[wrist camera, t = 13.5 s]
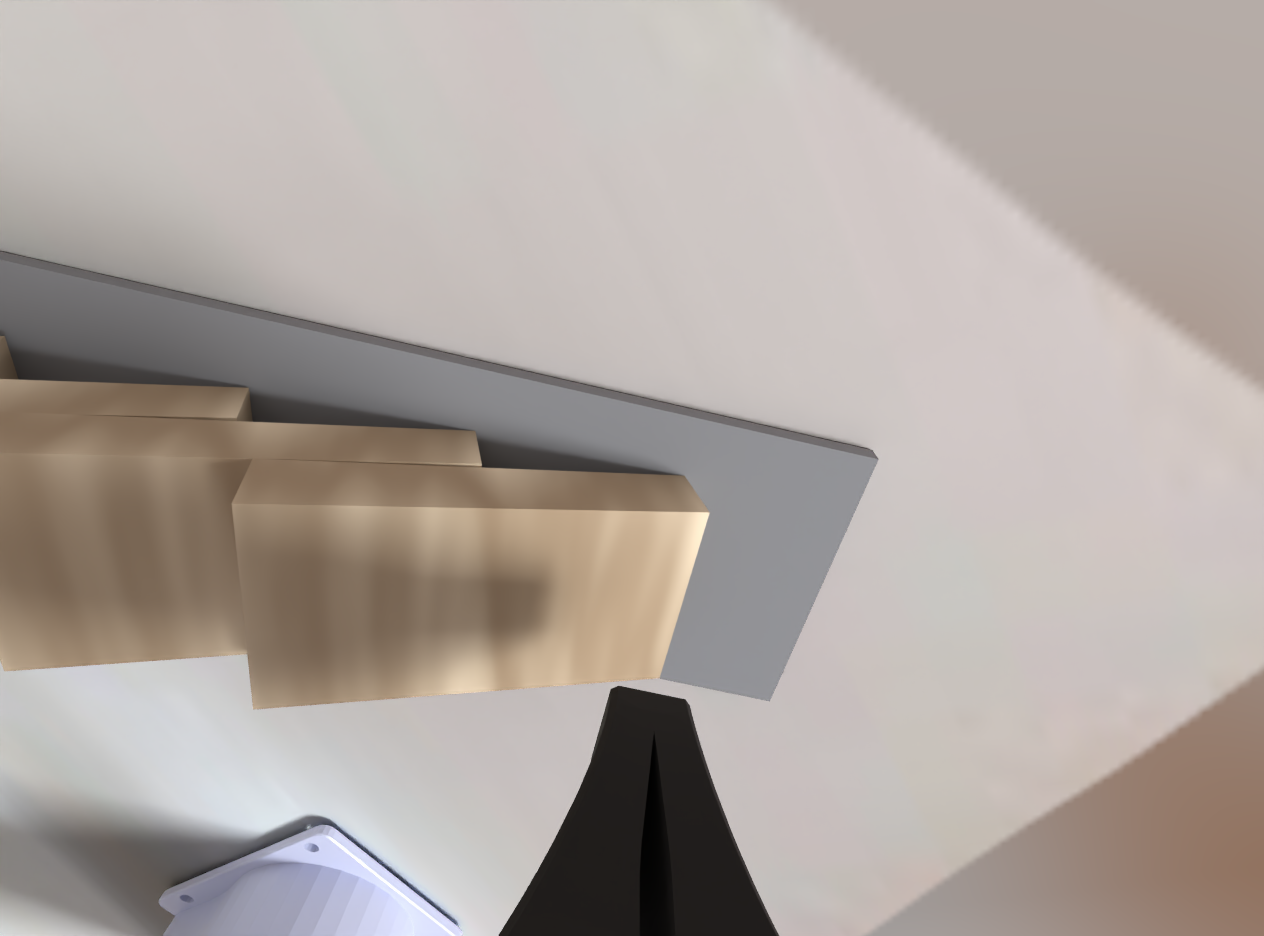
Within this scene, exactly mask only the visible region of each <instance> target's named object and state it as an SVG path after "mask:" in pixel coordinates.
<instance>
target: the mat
mask: <svg viewBox="0 0 1264 936" xmlns="http://www.w3.org/2000/svg"><path fill="white" fill-rule="evenodd" d="M0 336H5V339H6V342H7V345H8V348H9V351H10V354H11V357H12V360H13V363H14V367H15V370H16V373H17V376H18V379H19V380H44V381H72V382H101V383H129V384H157V385H186V386H214V387H242V388H249V393H250V402H251V411H252V420H253V422H269V423H294V424H319V425H344V426H368V427H393V428H418V429H443V430H467V431H475V432H476V437H477V442H478V447H479V452H480V457H481V462H482V467H481V468H505V469H530V470H555V471H580V472H605V473H630V474H655V475H680V476H685V477H686V479H687V480H688V482H689V483H690V484H691V486H692V487H693V489H694V490H695V492H696V493H697V495H698V496H699V498H700V499H701V501H702V502H703V503H704V505H705V506H706V508H707V509H708V511H709V512H710V513H709V517H708V520H707V523H706V526H705V530H704V533H703V536H702V540H701V543H700V546H699V550H698V553H697V556H696V559H695V563H694V566H693V569H692V573H691V576H690V579H689V583H688V586H687V589H686V592H685V596H684V599H683V602H682V606H681V609H680V612H679V616H678V619H677V622H676V625H675V629H674V632H673V635H672V639H671V642H670V645H669V649H668V652H667V655H666V658H665V662H664V665H663V668H662V672H661V675H660V679H664V680H669V681H674V682H679V683H684V684H689V685H693V686H698V687H703V688H708V689H713V690H718V691H722V692H727V693H732V694H737V695H742V696H747V697H751V698H756V699H761V700H766V701H770V699H771V697H772V695H773V693H774V691H775V688H776V686H777V684H778V682H779V679H780V677H781V675H782V673H783V671H784V668H785V666H786V664H787V662H788V659H789V657H790V655H791V653H792V651H793V648H794V646H795V644H796V642H797V639H798V637H799V635H800V633H801V631H802V628H803V626H804V624H805V622H806V619H807V617H808V615H809V613H810V610H811V608H812V606H813V604H814V602H815V599H816V597H817V595H818V593H819V590H820V588H821V586H822V584H823V582H824V579H825V577H826V575H827V573H828V570H829V568H830V566H831V564H832V562H833V559H834V557H835V555H836V553H837V550H838V548H839V546H840V544H841V541H842V539H843V537H844V535H845V533H846V530H847V528H848V526H849V524H850V521H851V519H852V517H853V515H854V513H855V510H856V508H857V506H858V504H859V501H860V499H861V497H862V495H863V493H864V490H865V488H866V486H867V484H868V481H869V479H870V477H871V475H872V473H873V470H874V468H875V466H876V464H877V461H878V458H877V456H876V455H875V453H874V452H873V450H870V449H865V448H861V447H856V446H852V445H848V444H843V443H839V442H834V441H830V440H826V439H821V438H817V437H813V436H808V435H804V434H799V433H795V432H791V431H786V430H782V429H777V428H773V427H769V426H764V425H760V424H756V423H751V422H747V421H742V420H738V419H734V418H729V417H725V416H721V415H716V414H712V413H707V412H703V411H699V410H694V409H690V408H685V407H681V406H677V405H672V404H668V403H664V402H659V401H655V400H650V399H646V398H642V397H637V396H633V395H628V394H624V393H620V392H615V391H611V390H607V389H602V388H598V387H593V386H589V385H585V384H580V383H576V382H571V381H567V380H563V379H558V378H554V377H550V376H545V375H541V374H536V373H532V372H528V371H523V370H519V369H514V368H510V367H506V366H501V365H497V364H493V363H488V362H484V361H479V360H475V359H471V358H466V357H462V356H457V355H453V354H449V353H444V352H440V351H436V350H431V349H427V348H422V347H418V346H414V345H409V344H405V343H400V342H396V341H392V340H387V339H383V338H379V337H374V336H370V335H365V334H361V333H357V332H352V331H348V330H343V329H339V328H335V327H330V326H326V325H322V324H317V323H313V322H308V321H304V320H300V319H295V318H291V317H286V316H282V315H278V314H273V313H269V312H265V311H260V310H256V309H251V308H247V307H243V306H238V305H234V304H230V303H225V302H221V301H216V300H212V299H208V298H203V297H199V296H194V295H190V294H186V293H181V292H177V291H173V290H168V289H164V288H159V287H155V286H151V285H146V284H142V283H137V282H133V281H129V280H124V279H120V278H116V277H111V276H107V275H102V274H98V273H94V272H89V271H85V270H80V269H76V268H72V267H67V266H63V265H59V264H54V263H50V262H45V261H41V260H37V259H32V258H28V257H23V256H19V255H15V254H10V253H6V252H2V251H0Z"/></svg>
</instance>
